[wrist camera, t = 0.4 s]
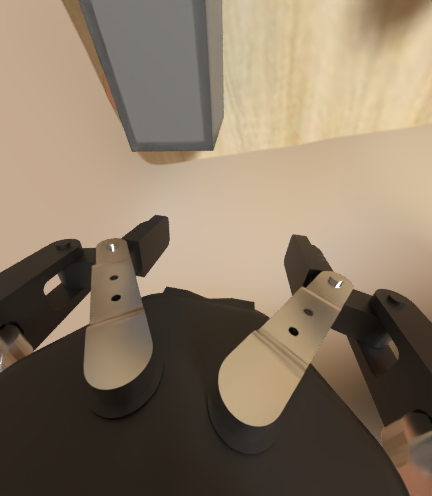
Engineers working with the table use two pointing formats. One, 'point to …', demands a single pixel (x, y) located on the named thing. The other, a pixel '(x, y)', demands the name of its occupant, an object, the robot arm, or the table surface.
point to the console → (162, 69)
